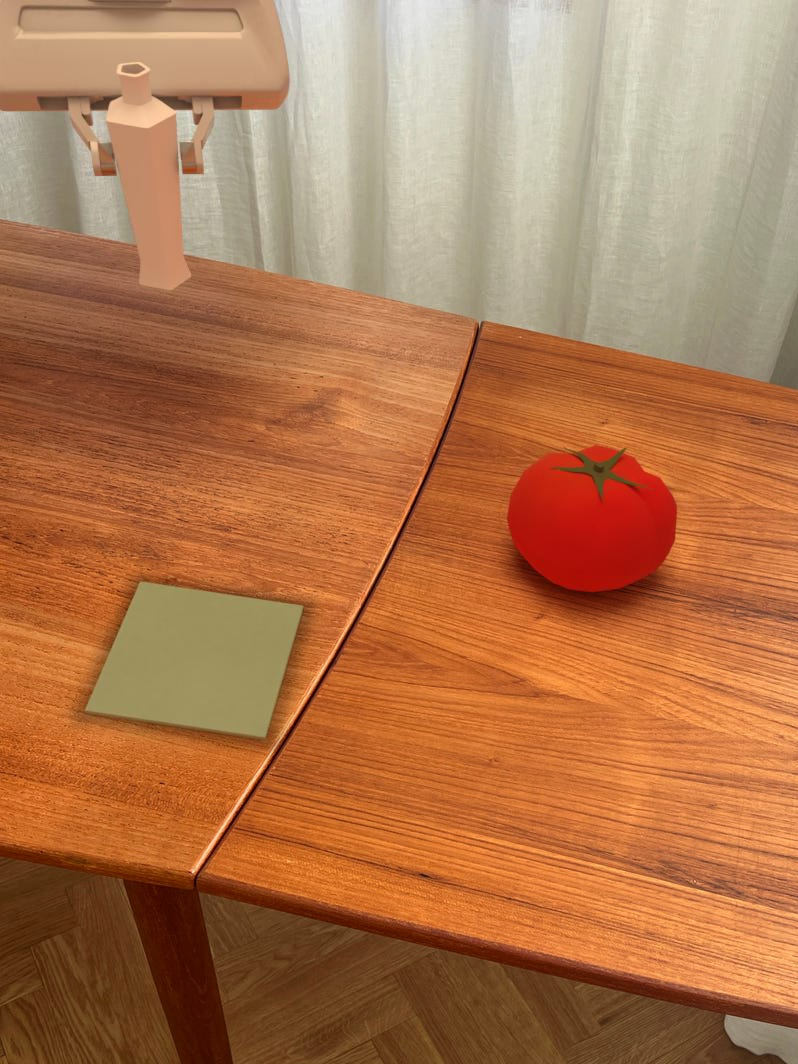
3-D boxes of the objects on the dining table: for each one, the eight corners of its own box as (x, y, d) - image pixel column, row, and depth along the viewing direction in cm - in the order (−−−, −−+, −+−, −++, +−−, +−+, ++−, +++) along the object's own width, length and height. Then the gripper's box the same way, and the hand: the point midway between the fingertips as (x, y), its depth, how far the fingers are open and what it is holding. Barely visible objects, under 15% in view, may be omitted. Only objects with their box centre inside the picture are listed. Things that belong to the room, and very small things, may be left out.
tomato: (662, 629, 86) (694, 530, 79) (494, 605, 86) (510, 504, 78) (660, 527, 94) (690, 428, 86) (506, 506, 93) (522, 404, 86)
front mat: (85, 715, 76) (84, 710, 75) (140, 586, 84) (139, 580, 83) (265, 742, 76) (265, 737, 75) (303, 610, 84) (303, 605, 83)
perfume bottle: (118, 271, 85) (80, 64, 74) (170, 253, 88) (141, 48, 76) (151, 300, 83) (117, 91, 72) (203, 281, 86) (178, 75, 74)
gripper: (-50, -68, 72) (-20, 159, 73) (279, -59, 77) (301, 154, 78) (-30, -19, 78) (-3, 190, 80) (273, -13, 83) (293, 184, 84)
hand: (150, 172), depth 79 cm, fingers closed on perfume bottle, 4 cm apart
